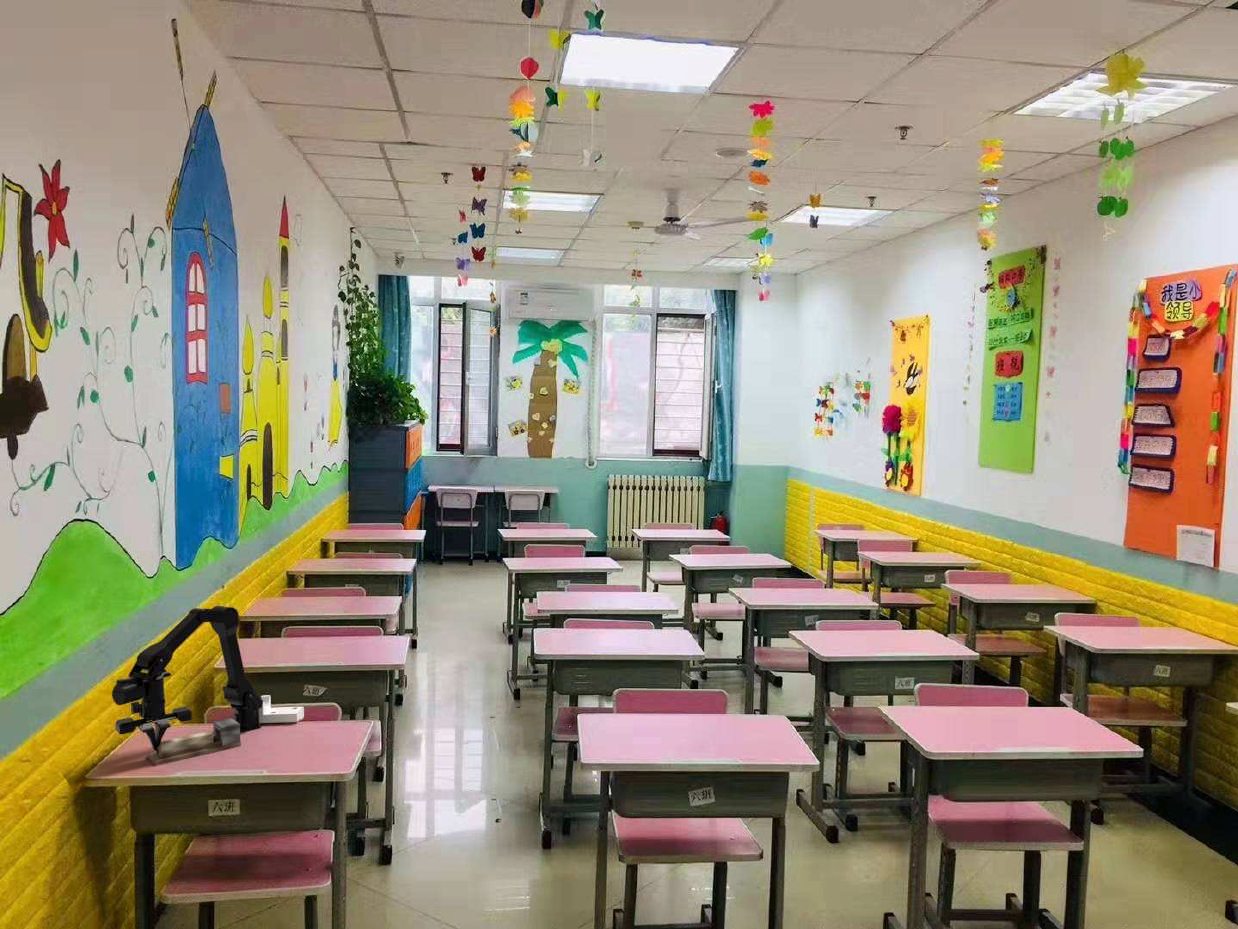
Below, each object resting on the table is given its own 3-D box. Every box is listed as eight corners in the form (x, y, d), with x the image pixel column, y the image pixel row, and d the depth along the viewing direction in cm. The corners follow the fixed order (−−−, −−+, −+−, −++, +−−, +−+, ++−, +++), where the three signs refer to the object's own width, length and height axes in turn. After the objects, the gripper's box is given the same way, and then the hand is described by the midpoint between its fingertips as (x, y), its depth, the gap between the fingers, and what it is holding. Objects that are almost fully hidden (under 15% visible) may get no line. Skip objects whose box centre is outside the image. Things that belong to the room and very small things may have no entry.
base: (231, 738, 280) (230, 717, 280) (241, 745, 273) (240, 724, 273) (147, 757, 265) (146, 734, 265) (156, 765, 258) (155, 742, 258)
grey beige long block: (210, 742, 273) (210, 731, 273) (213, 745, 271) (213, 733, 271) (158, 754, 264) (158, 742, 264) (161, 757, 262) (161, 745, 262)
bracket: (255, 726, 292) (254, 702, 292) (263, 718, 299) (262, 695, 299) (297, 724, 293) (296, 701, 292) (304, 717, 300) (303, 694, 299)
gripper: (180, 683, 274) (182, 735, 275) (109, 696, 262) (112, 750, 263) (191, 691, 265) (193, 745, 266) (118, 705, 253) (121, 761, 254)
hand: (155, 750), depth 262 cm, fingers closed
